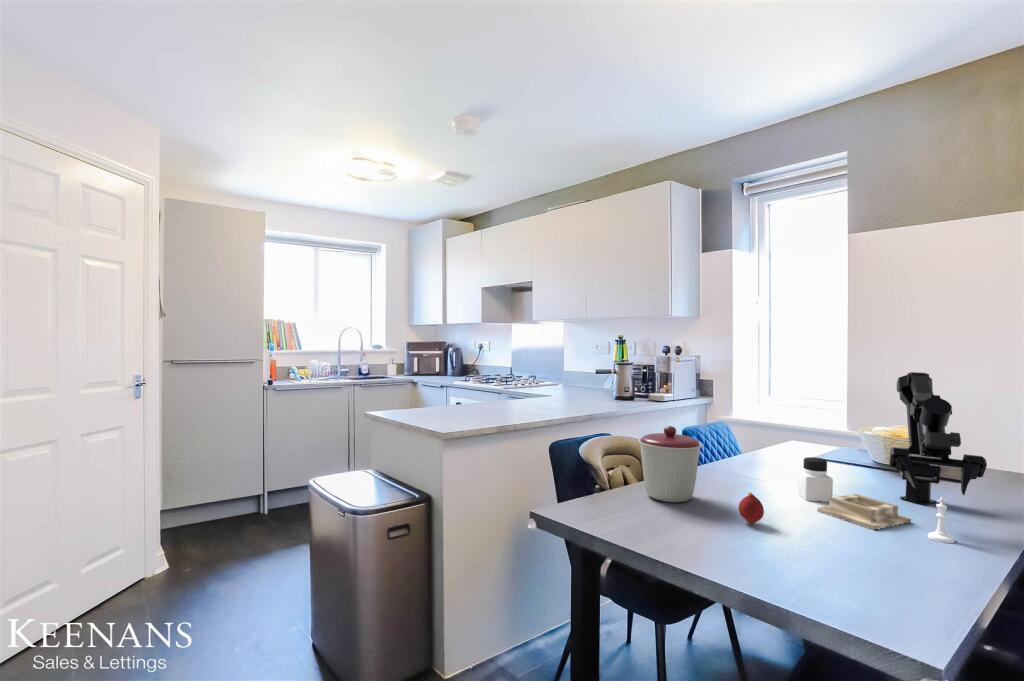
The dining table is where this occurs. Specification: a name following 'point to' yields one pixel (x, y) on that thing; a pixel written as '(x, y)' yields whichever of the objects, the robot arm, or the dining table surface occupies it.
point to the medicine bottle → (815, 480)
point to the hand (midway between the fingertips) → (939, 490)
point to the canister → (669, 465)
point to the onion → (751, 508)
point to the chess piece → (941, 525)
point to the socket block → (864, 511)
